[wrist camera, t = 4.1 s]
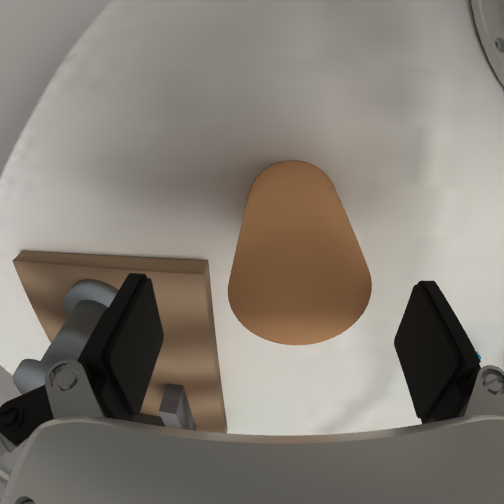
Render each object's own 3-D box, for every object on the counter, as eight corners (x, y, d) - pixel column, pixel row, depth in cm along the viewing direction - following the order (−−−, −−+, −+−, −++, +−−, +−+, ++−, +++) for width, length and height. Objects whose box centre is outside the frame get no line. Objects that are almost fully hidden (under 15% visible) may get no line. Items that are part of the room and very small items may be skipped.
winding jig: (22, 250, 21) (-51, 332, 13) (208, 260, 20) (164, 396, 12) (101, 407, 33) (77, 473, 25) (227, 429, 32) (216, 507, 24)
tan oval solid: (247, 159, 16) (224, 229, 10) (341, 163, 16) (385, 236, 9) (247, 241, 19) (230, 342, 12) (331, 244, 19) (355, 345, 12)
